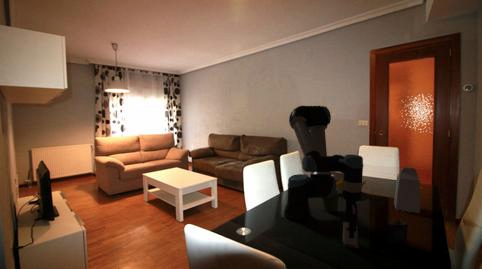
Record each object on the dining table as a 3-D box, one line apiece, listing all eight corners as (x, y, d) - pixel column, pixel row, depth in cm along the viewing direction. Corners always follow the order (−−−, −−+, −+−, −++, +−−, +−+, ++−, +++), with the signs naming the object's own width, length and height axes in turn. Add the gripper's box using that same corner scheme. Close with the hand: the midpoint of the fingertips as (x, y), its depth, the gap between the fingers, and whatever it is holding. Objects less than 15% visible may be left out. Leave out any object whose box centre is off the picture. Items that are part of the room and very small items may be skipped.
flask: (403, 240, 109) (405, 217, 108) (408, 243, 106) (410, 220, 105) (385, 240, 108) (386, 218, 107) (389, 244, 106) (391, 221, 105)
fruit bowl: (316, 189, 183) (317, 175, 182) (341, 185, 195) (342, 171, 194) (346, 201, 158) (347, 185, 157) (373, 195, 169) (374, 180, 168)
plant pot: (343, 213, 135) (342, 193, 136) (322, 213, 138) (320, 193, 138) (339, 207, 147) (338, 189, 147) (319, 207, 149) (318, 189, 150)
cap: (342, 237, 108) (343, 221, 108) (355, 239, 107) (355, 223, 106) (344, 243, 103) (344, 227, 103) (357, 245, 102) (357, 228, 101)
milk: (395, 210, 144) (398, 168, 142) (393, 203, 154) (396, 164, 152) (420, 214, 138) (423, 170, 136) (416, 207, 148) (419, 166, 146)
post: (342, 239, 109) (342, 222, 108) (356, 241, 107) (357, 224, 107) (344, 246, 103) (344, 228, 103) (358, 248, 102) (359, 230, 101)
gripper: (340, 183, 113) (338, 230, 115) (345, 196, 95) (343, 250, 97) (357, 185, 111) (355, 232, 113) (366, 198, 93) (363, 253, 95)
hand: (349, 240), depth 105 cm, fingers closed on cap, 5 cm apart
